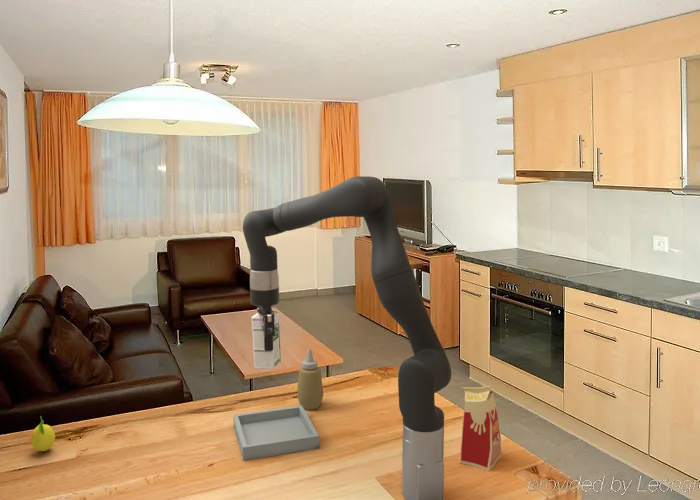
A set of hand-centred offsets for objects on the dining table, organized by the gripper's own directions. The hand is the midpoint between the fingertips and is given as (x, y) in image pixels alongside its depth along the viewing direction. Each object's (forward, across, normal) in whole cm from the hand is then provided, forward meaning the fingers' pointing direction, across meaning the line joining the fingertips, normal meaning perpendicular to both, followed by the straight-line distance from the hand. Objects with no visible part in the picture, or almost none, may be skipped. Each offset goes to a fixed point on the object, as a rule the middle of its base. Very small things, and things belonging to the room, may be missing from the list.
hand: (266, 345), depth 161 cm
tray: (+26, 0, -2) cm, 26 cm away
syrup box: (+6, 0, 0) cm, 6 cm away
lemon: (+27, +10, +58) cm, 64 cm away
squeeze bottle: (+26, +16, -15) cm, 34 cm away
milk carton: (+26, -28, -49) cm, 62 cm away
